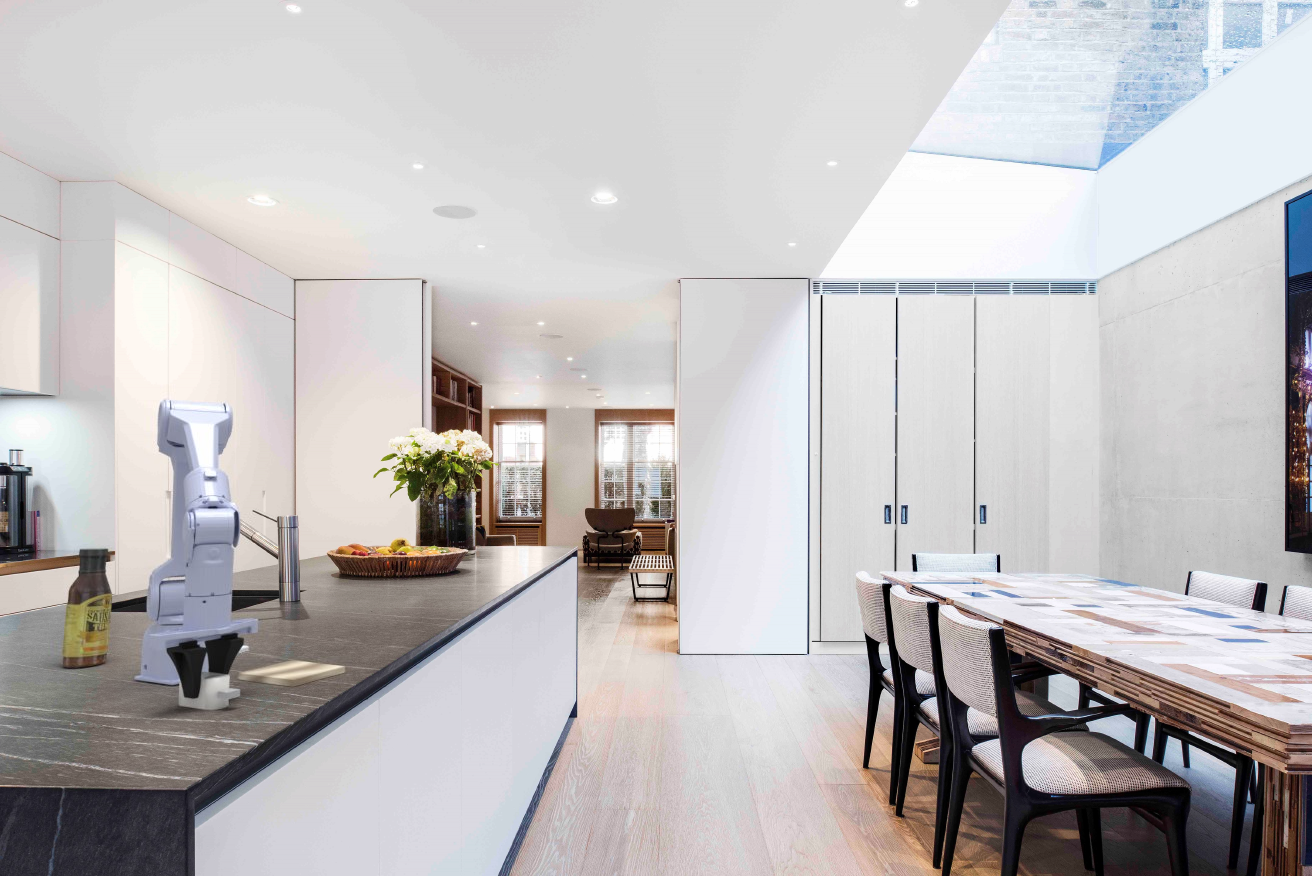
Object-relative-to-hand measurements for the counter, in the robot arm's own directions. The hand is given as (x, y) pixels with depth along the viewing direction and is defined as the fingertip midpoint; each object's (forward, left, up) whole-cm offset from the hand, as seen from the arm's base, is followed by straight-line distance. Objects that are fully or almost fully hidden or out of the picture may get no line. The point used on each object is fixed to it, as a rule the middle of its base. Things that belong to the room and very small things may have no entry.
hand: (203, 694), depth 102 cm
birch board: (-3, +17, -1) cm, 17 cm away
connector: (0, 0, -1) cm, 1 cm away
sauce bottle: (-43, +9, -2) cm, 44 cm away
